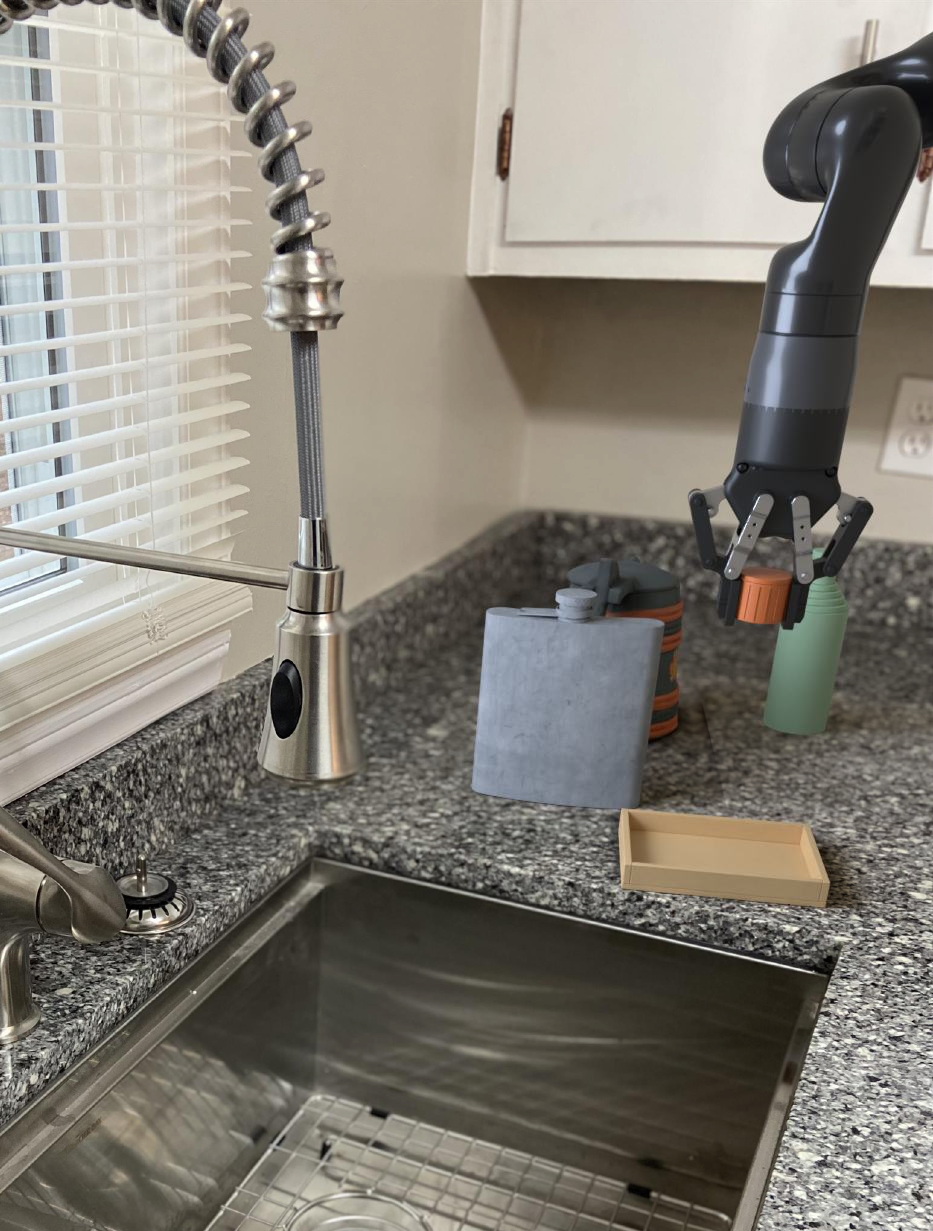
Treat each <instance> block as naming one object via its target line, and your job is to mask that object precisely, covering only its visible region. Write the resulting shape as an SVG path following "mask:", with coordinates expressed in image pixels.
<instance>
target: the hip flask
mask: <svg viewBox="0 0 933 1231" xmlns="http://www.w3.org/2000/svg"><path fill="white" fill-rule="evenodd" d="M596 600H597V593H595V592H593V591H591V590H585V589H577V588H570V587H568V588H561V589H557V591H556V593H555V601H556V603H558V604H559V605H556V607H555V608H545V607H543V608H542V607H521V608H513V607H506V606H495V607H491V608H487V609H486V612H485V622H484V623H485V624H484V636H483V647H482V657H481V658H482V659H481V671H480V682H479V695H478V706H477V719H476V728H475V729H476V731H475V741H474V742H475V743H474V754H473V766H472V777H471V778H472V779H471V790H472V791H474V792H476V793H477V794H481V795H486V796H491V797H496V798H497V797H498V798H503V799H510V800H517V801H522V802H528V803H530V802H531V803H538V804H546V805H555V806H565V807H576V808H590V809H591V808H592V809H606V810H607V809H608V810H609V809H610V810H621V809H622V808H624V809H636V808H638V807H639V806H640V800H641V795H642V787H643V780H644V772H645V766H646V758H647V752H648V745H649V741H648V738H649V731H650V724H651V717H652V710H653V703H654V696H655V689H656V682H657V675H658V668H659V661H660V654H661V647H662V640H663V633H664V626H665V624H664V623H663V622H662V621H659V620H656V619H650V618H625V617H604V616H592V610H593V607H592V606H591V605H594V604H596Z"/></svg>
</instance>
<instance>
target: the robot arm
mask: <svg viewBox="0 0 933 1231" xmlns="http://www.w3.org/2000/svg"><path fill="white" fill-rule="evenodd" d="M929 149H933V31H932V32H930V33H928V34H926V35H925V36H923V37H921V38H919V39H918V40H917V41H915V42H914V43H912V44H911V45H909V46H908V47H906V48H904V49H902V50H900V51H897V52H895V53H892V54H891V55H888V56H885V57H882V58H880V59H877V60H873V61H871V62H867V63H865V64H863V65H860V66H857V67H855V68H853V69H850V70H848V71H845V72H842V73H840V74H838V75H834V76H833V77H830V78H828V79H826V80H823V81H821V82H818V83H817V84H815V85H813V86H811V87H809V88H807V89H805V90H804V91H803V92H801V93H800V94H798V95H797V96H796V97H794V98H793V99H792V100H791V101H789V103H787V104H786V106H784V108H782V110H781V111H780V112H779V114H777V116H776V118H775V119H774V121H773V122H772V124H771V126H770V128H769V130H768V131H767V134H766V136H765V139H764V143H763V149H762V154H761V155H762V158H761V159H762V160H761V161H762V168H763V169H762V170H763V173H764V176H765V178H766V180H767V182H768V184H769V185H770V187H771V188H772V189H773V190H774V191H775V192H776V193H777V194H778V195H780V196H782V197H783V198H785V199H787V200H790V201H794V202H796V203H797V202H798V203H809V204H811V203H813V204H814V203H815V204H816V203H817V204H818V203H819V204H820V203H821V204H823V206H822V207H821V210H820V212H819V215H818V216H817V219H816V221H815V224H814V226H813V228H812V230H811V232H810V234H809V235H808V236H807V237H805V238H804V239H801V240H797V241H794V242H790V243H788V244H785V245H784V246H782V247H780V248H779V249H777V251H776V252H775V253H773V254H774V255H773V256H772V257H771V260H770V263H769V267H768V270H767V274H766V281H765V286H764V288H765V289H764V292H763V298H762V306H761V311H760V317H759V318H760V319H759V324H758V331H757V334H756V339H755V343H754V347H753V349H752V353H751V357H750V360H749V365H748V368H747V370H748V371H747V376H746V379H745V381H744V385H743V393H744V395H743V402H742V406H741V413H740V420H739V425H738V432H737V440H736V445H735V452H734V456H733V457H734V458H733V464H732V468H731V470H730V472H729V473H728V475H727V476H726V477H725V479H724V480H723V483H722V484H721V485H717V486H713V487H709V488H706V489H703V490H702V489H701V488H693V489H691V490H690V491H689V492H688V494H687V500H688V507H689V511H690V516H691V522H692V526H693V531H694V535H695V536H694V537H695V540H696V546H697V550H698V555H699V559H700V564H701V566H702V568H703V569H705V570H707V571H712V572H714V573H716V574H718V575H719V576H720V577H719V583H718V591H717V596H716V603H715V609H716V614H717V616H718V619H722V623H723V626H724V627H734V626H735V620H736V618H735V615H736V609H737V603H738V597H739V592H740V586H741V579H740V578H739V575H740V573H741V571H742V569H744V567H745V564H746V562H747V559H748V557H749V555H750V554H751V553H752V551H753V550H754V546H755V544H756V542H757V540H758V539H766V538H771V537H778V538H780V539H784V540H789V544H790V549H791V557H792V558H791V561H792V574H791V575H792V576H793V577H792V581H791V587H790V592H789V598H788V603H787V609H786V614H785V618H784V620H783V621H782V622H781V626H782V628H783V630H793V628H794V623H801V621H802V620H803V618H804V615H805V609H806V604H807V599H808V594H809V589H810V585H811V584H812V582H813V581H815V580H816V579H819V578H823V577H826V576H827V577H834V576H836V577H837V575H838V574H839V573H840V571H841V570H842V568H843V566H844V565H845V563H846V561H847V559H848V557H849V556H850V554H851V552H852V551H853V549H854V547H855V545H856V544H857V542H858V540H859V538H860V537H861V535H862V533H863V531H864V530H865V528H866V526H867V524H868V522H869V521H870V520H871V518H872V516H873V513H874V506H873V504H872V503H871V501H869V500H868V499H867V498H866V497H864V496H855V495H852V494H849V493H847V492H845V491H843V490H842V486H841V483H840V480H839V467H840V462H841V456H842V452H843V447H844V441H845V435H846V431H847V425H848V420H849V415H850V411H851V410H850V409H851V404H852V400H853V394H854V390H855V385H856V379H857V374H858V373H857V372H858V365H859V349H860V348H859V345H860V340H861V335H860V334H861V332H862V326H863V321H864V317H865V310H866V306H867V301H868V294H869V290H870V284H871V277H872V274H873V272H874V270H875V267H876V265H877V262H878V260H879V258H880V256H881V254H882V252H883V250H884V248H885V246H886V243H887V241H888V239H889V237H890V234H891V232H892V229H893V227H894V224H895V222H896V221H897V218H898V216H899V213H900V212H901V209H902V207H903V204H904V202H905V200H906V198H907V195H908V193H909V191H910V189H911V186H912V184H913V182H914V180H915V176H916V174H917V171H918V167H919V164H920V160H921V156H922V151H924V150H929ZM723 500H726V502H727V504H728V506H729V507H730V508H731V510H732V512H733V514H734V516H735V517H736V519H737V521H738V523H737V524H736V527H735V530H734V532H733V534H732V537H731V541H730V544H729V546H728V549H727V551H726V552H725V553H726V554H723V553H720V552H718V551H717V549H716V543H715V538H714V534H713V529H712V524H711V519H713V518H715V517H716V516H717V515H718V514H719V507H720V504H721V502H722V501H723ZM835 505H836V506H837V511H836V514H835V516H836V517H835V518H836V520H837V521H838V523H839V524H838V526H837V528H836V529H835V531H834V533H833V535H832V536H831V539H830V540H829V541H828V543H827V546H826V547H825V548H826V549H825V551H824V553H823V554H822V556H821V558H817V559H813V558H812V554H813V550H814V548H813V537H812V528H814V527H815V525H817V523H818V522H819V521H821V519H822V518H823V517H824V516H825V515H827V513H828V512H829V511H830V510H831V509H833V507H834V506H835Z"/></svg>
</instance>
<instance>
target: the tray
mask: <svg viewBox="0 0 933 1231" xmlns="http://www.w3.org/2000/svg"><path fill="white" fill-rule="evenodd" d="M617 832H618V846H619V847H618V848H619V867H620V868H619V869H620V886H621V889H622V890H631V891H641V892H650V893H651V892H653V893H664V894H673V895H684V896H693V897H705V898H716V899H725V900H737V901H747V902H757V903H766V904H767V903H768V904H777V905H779V904H780V905H788V904H790V906H801V907H809V906H811V908H821V909H825V908H826V906H827V902H828V897H829V891H830V887H831V881H830V878H829V875H828V872H827V870H826V867H825V864H824V861H823V859H822V855H821V852H820V851H819V848H818V845H817V842H816V839H815V836H814V834H813V831H812V827H811V826H810V824H809V823H801V822H787V821H777V820H763V819H754V818H741V817H730V816H718V815H707V814H706V815H705V814H697V813H695V814H693V813H683V812H671V811H659V810H646V809H636V808H633V809H624V808H622V809H620V817H619V825H618V830H617Z"/></svg>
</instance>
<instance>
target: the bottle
mask: <svg viewBox="0 0 933 1231" xmlns="http://www.w3.org/2000/svg"><path fill="white" fill-rule="evenodd" d="M825 549H826V547H816V548H815V547H814V548H813V552H812V558H813V559H817V558H821V556H822V554H823V553H824V551H825ZM836 578H837V575H836V576H834V577H827V576H826V577H823V578H819V579H816V580H815V581H813V582H812V584H811V585H810V589H809V594H808V599H807V604H806V609H805V615H804V618H803V620H802V621H801V623H794V628H793V630H783V628H782V626H781V622H780V623H779V628H778V634H777V639H776V643H775V644H776V645H775V651H774V656H773V661H772V668H771V672H770V677H769V678H770V679H769V683H768V689H767V695H766V701H765V706H764V712H763V718H762V723H763V725H764V726H766V727H767V728H769V729H771V730H773V731H777V732H781V733H785V734H790V735H802V736H805V735H806V736H808V735H809V736H810V735H816V734H817V735H818V734H820V733H823V732H825V730H826V728H827V723H828V718H829V713H830V709H831V703H832V698H833V695H834V694H833V693H834V688H835V684H836V678H837V673H838V668H839V663H840V659H841V655H842V654H841V653H842V650H843V644H844V638H845V633H846V629H847V623H848V620H849V619H848V618H849V613H850V608H849V601H848V600H846V596H845V594H843V593H842V588H840V587H839V582H837V581H836Z"/></svg>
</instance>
